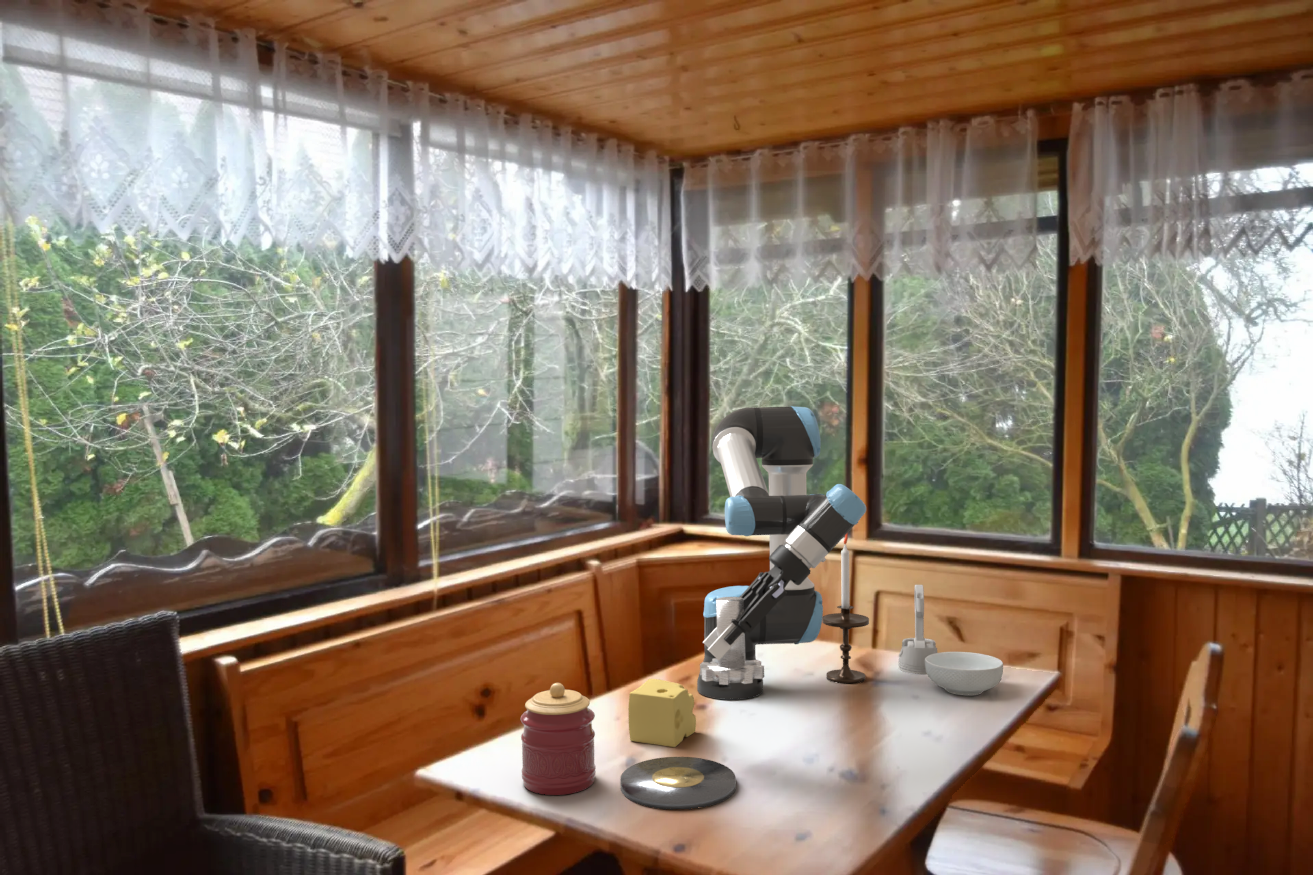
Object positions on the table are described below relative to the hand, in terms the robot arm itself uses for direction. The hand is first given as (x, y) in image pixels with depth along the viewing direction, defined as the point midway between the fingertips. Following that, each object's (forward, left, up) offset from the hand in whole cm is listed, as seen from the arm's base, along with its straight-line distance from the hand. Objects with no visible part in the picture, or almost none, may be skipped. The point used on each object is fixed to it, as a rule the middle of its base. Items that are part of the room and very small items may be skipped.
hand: (710, 650), depth 182 cm
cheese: (-19, -1, -22) cm, 29 cm away
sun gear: (+1, +4, -5) cm, 6 cm away
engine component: (-35, +76, -22) cm, 86 cm away
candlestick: (-36, +55, -22) cm, 69 cm away
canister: (-6, -27, -22) cm, 35 cm away
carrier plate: (+5, -9, -21) cm, 24 cm away
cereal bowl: (-16, +73, -22) cm, 77 cm away
